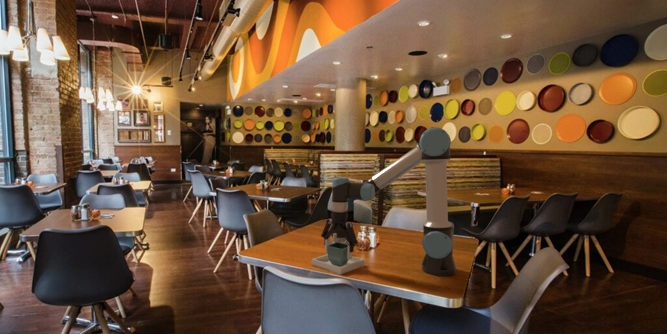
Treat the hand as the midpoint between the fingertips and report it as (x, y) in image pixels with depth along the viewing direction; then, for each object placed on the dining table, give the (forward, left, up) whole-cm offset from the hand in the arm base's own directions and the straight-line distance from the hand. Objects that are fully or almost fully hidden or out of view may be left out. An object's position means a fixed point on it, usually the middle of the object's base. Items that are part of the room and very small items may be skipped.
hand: (338, 255), depth 170 cm
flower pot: (-1, 0, -4) cm, 4 cm away
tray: (0, 0, -5) cm, 5 cm away
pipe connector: (+15, -15, -5) cm, 22 cm away
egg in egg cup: (+27, -34, -5) cm, 44 cm away
